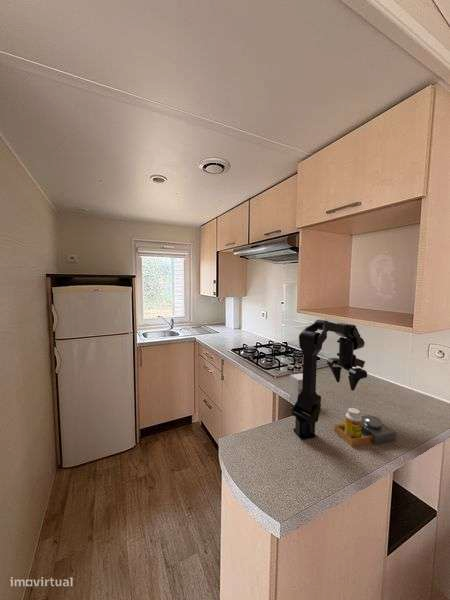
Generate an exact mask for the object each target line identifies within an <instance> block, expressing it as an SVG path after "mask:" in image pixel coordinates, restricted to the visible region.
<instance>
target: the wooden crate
mask: <svg viewBox="0 0 450 600" xmlns="http://www.w3.org/2000/svg"><path fill="white" fill-rule="evenodd" d="M360 416H361V417H362V429H361V437H358V438H351V437H350V436H349V435H348V434H346V433H345V422H344V423H340V424H339V423H337V424H334V425H333V432H334V433H336V434H337V435H338V436H339V437H340V438H341V439H342V440H343V441H345V443H347V444H348V445H349V446H351V447H359V446H363V445H369V444H370V445H371V444H373V445H374V446H379V445H383V444H389V443H394V442H396V438H397V432H396V431H395V430H393V429H392V428H390V427H389V426H387V425H385V424H384V423H383V421H382V420H381V419H380V418H379V417H378V416H373V415H370V414H368V415H360Z"/></svg>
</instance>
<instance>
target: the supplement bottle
mask: <svg viewBox="0 0 450 600" xmlns="http://www.w3.org/2000/svg"><path fill="white" fill-rule="evenodd" d="M361 416H362V415H361V412H360V410H359V409H358V408H355V407H350V408H348V409H347V412H346V413H345V416H344V417H345V419H344V420H345V421H344V423H345V431H344V432H345V433H346V434H348V435H349V436H350V437H351V438H358V437H362V434H361V429H362V417H361Z"/></svg>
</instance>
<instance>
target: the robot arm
mask: <svg viewBox="0 0 450 600" xmlns="http://www.w3.org/2000/svg"><path fill="white" fill-rule="evenodd" d="M318 330H319V331H321V332H317V331H318ZM328 332H332V333H335V334H336V335H337V336H340V337H339V338H338V339H337V341H336V342H337V343H338V346H339V347H338V352H337V353H336V356H338V357H332V358H328V359H327V360H326V365H328V367H329V369H330V371H331V373H332V374H333V377H334V379H335V381H336V382H337V383H340V380H341V371H342V369H343V370H345V371H347V372H348V381H349V388H350V390H351V391H352V392H353V391H355V390H356V387H357V385H358V383H359V381H360V380H362V379H366V378H368V372H367V370H366V369H364V367H365V364H366V361H365V360H363V359H360V358H357V356H356V354H354V351H356V350H359V349H362V348H364V346H365V340H364V339H363V338H362V336H361V334H360V331H358V328H357V325H355V324H351V323H344V322H339V323H338V322H337V323H336V322H330V321H328V320H323V319H317V320H314V323H312V324H310V325H307V326H306V327H305V328H304V329H303V330H302V331H301V332H300V333H299V335H298V343H299V347H300V350H301V352H302V354H303V357H302V373H303V380H302V391H301V392H300V394H299V395H298V398H297V402H296V404H295V403H294V405H293V407H292V409H291V415H292V416H294V418H295V426H294V427H295V428H292V430H293V432H294V433H295V434H296V436H297V437H298V438H299V439H300V440H307V439H309V440H310V439H315V438H317V434H316V423H317V422H319V418H320V415H321V407H322V403H321V402H322V396H321V395H320V394H317V367H318V366H317V365H318V354H319V353H320V352H321V351H322V349H323V344H324V342H326V340H327V338H328Z"/></svg>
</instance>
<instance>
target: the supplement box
mask: <svg viewBox="0 0 450 600" xmlns="http://www.w3.org/2000/svg"><path fill="white" fill-rule="evenodd" d="M302 380H303V372H302V373H296V374H295V373H294V374H290V375H289V400H291V402H292V403H293V404H294V405H295V404H296V402H297V398H298V395H299V394H300V392H301V391H302Z"/></svg>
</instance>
